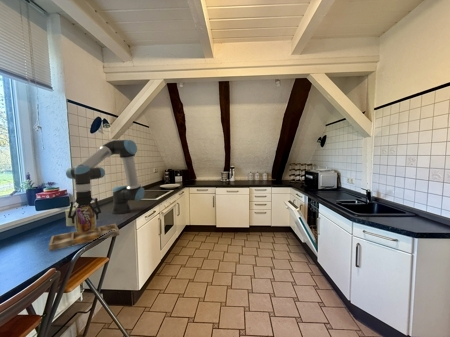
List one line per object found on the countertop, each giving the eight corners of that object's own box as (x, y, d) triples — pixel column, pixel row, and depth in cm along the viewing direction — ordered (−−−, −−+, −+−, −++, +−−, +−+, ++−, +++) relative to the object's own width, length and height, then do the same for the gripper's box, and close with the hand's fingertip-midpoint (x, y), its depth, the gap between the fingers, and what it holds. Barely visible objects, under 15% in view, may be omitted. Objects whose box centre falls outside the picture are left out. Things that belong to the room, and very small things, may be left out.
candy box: (93, 227, 128) (91, 204, 127) (95, 229, 125) (94, 205, 124) (76, 231, 121) (74, 207, 120) (78, 233, 118) (76, 208, 117)
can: (73, 226, 143) (72, 210, 142) (62, 225, 145) (61, 209, 144) (84, 222, 152) (83, 207, 151) (74, 221, 154) (73, 206, 153)
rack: (115, 228, 140) (115, 223, 139) (119, 235, 127) (119, 230, 127) (52, 241, 120) (51, 235, 119) (49, 251, 107) (48, 245, 107)
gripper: (104, 187, 131) (105, 221, 132) (60, 192, 118) (63, 228, 119) (105, 189, 125) (107, 224, 126) (59, 194, 112) (62, 232, 113)
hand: (85, 226), depth 123 cm, fingers closed on candy box, 9 cm apart
